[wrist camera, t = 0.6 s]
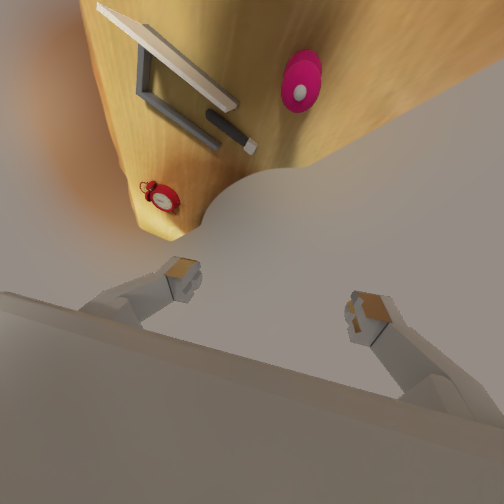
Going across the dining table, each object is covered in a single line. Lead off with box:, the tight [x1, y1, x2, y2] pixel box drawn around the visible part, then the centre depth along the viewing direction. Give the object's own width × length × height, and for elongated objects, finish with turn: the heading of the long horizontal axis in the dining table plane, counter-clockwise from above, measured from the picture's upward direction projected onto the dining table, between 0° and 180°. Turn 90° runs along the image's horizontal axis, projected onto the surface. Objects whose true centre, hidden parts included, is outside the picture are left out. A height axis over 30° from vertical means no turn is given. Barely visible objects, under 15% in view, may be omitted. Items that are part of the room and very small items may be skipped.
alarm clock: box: [140, 181, 180, 215], centre depth 69 cm, size 10×6×15 cm
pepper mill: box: [281, 49, 322, 113], centre depth 31 cm, size 7×7×20 cm
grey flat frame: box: [136, 24, 240, 151], centre depth 43 cm, size 12×22×3 cm, turn 57°
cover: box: [97, 2, 237, 113], centre depth 34 cm, size 11×22×1 cm
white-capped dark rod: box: [205, 109, 258, 156], centre depth 47 cm, size 15×3×3 cm, turn 57°
